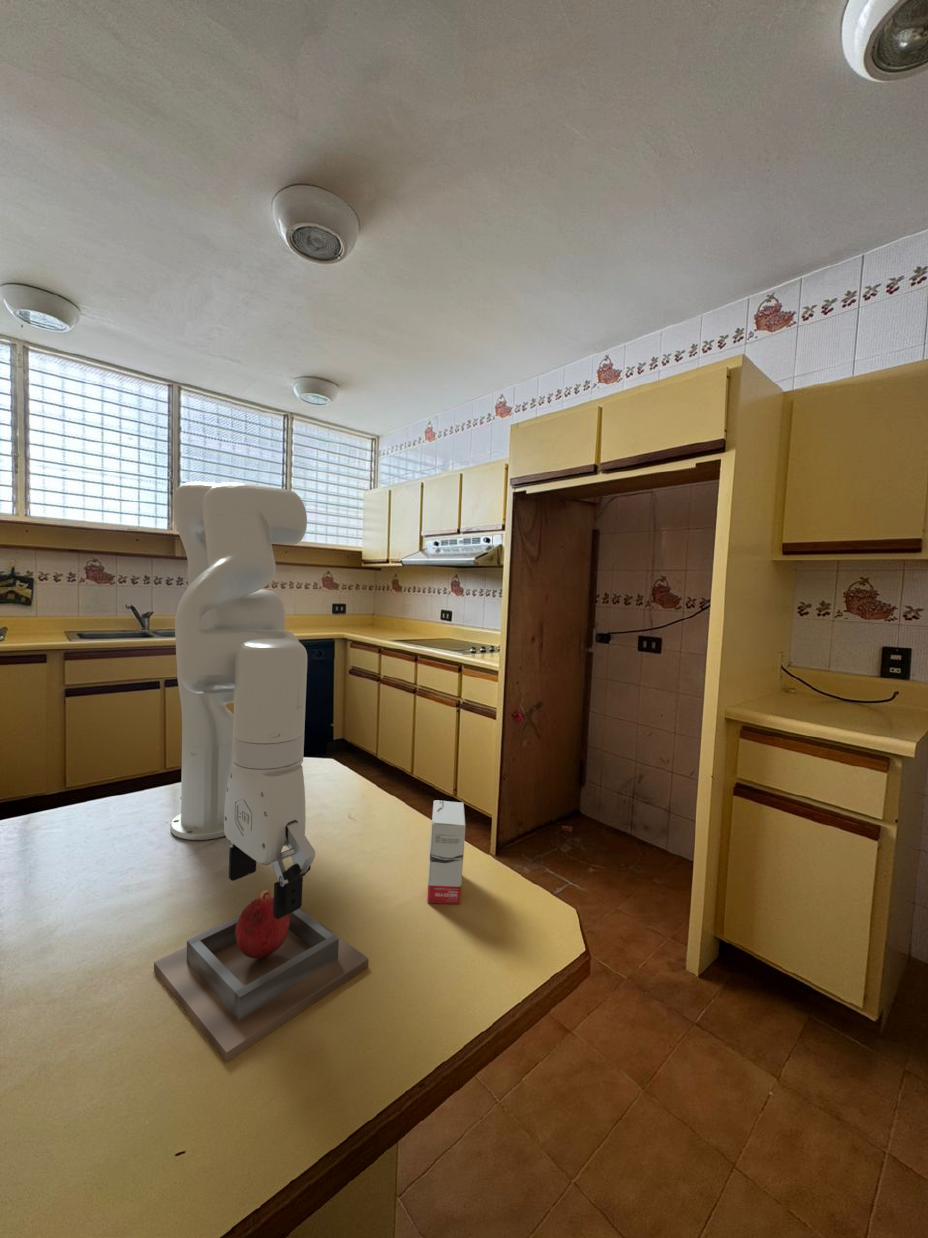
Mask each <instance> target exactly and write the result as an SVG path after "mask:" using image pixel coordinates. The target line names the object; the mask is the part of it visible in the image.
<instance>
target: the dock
mask: <svg viewBox="0 0 928 1238" xmlns="http://www.w3.org/2000/svg"><path fill="white" fill-rule="evenodd" d="M239 917H240V915H239V916H238V915H237V916H236V917H234V918H232V919H230V920H228V921H225V922H224V923H221V924H219V925H217V926H214V927H213V928H211V929H209V930H207V931H206V930H205V932H202V933H200V934H198V935H196V936H194V937H191V938H190V939H187V940H186V946H185V947H183V948H181V949H178V950H176V951H174V952H172V953H170V954H168V955H165V956H163V957H161V958H160V959H158V960H155V961H153V972H154V973H156V976H158V978H159V979H160V980H161V982H162V983H163V984H164V985H165V986H166V988H167V989H168V990H169V992H170V993H171V994H172V996H173V997H174V998H175V1000H177V1002H178V1003H179V1004H180V1006H181V1007H182V1008H183V1009H184V1011H185V1012H186V1013H187V1015H188V1016H189V1017H190V1018H191V1019H192V1021H193V1022H194V1023H195V1025H196V1026H197V1027H198V1029H200V1031H201V1032H202V1033H203V1035H204V1036H205V1037H206V1039H207V1040H208V1042H210V1044H211V1045H212V1046H213V1048H214V1049H215V1050H216V1051H217V1052H218V1054H219V1055H220V1057H221V1058H222V1059H223V1060H224V1062H225V1063H228V1062H230V1061H231V1060H232V1059H234V1058H235V1057H237V1056H238V1055H240V1054H242V1053H243V1052H244V1051H246V1050H247V1049H248V1048H250V1047H252V1046H253V1045H255V1044H257V1043H258V1042H259V1041H261V1040H263V1039H265V1037H266V1036H268V1035H270V1034H271V1033H273V1032H274V1031H276V1030H277V1029H278V1028H280V1027H281V1026H284V1024H286V1023H288V1022H289V1021H290V1020H292V1019H293V1018H295V1017H296V1016H298V1015H299V1014H301V1013H302V1012H304V1011H305V1010H306V1009H308V1008H310V1007H311V1006H312V1005H314V1004H316V1003H317V1002H318V1001H320V1000H321V999H322V998H324V997H326V996H327V995H329V994H331V993H332V992H334V990H336V989H338V988H339V987H341V986H342V985H343V984H345V983H347V982H348V981H350V980H351V979H352V978H354V977H355V976H357V975H358V974H359V973H361V972H363V971H364V970H366V969H367V968H368V967H369V958H368V957H367V956H366V955H364V954H363V953H362V952H360V951H359V950H358V949H356V948H355V947H354V946H352V945H351V944H350V943H348V942H347V940H346V941H345V940H344V938H342V937H340V936H339V935H338V934H336V933H335V932H333V930H331V929H330V928H328V926H325V925H324V924H323V923H322V922H321V921H319V920H318V919H316V918H315V917H314V916H312V915H311V914H309V912H307V911H306V910H304V909H303V908H301V907H300V908H299V909H297V910H296V911H294V912H292V913H290V914H289V919H290V924H289V929H288V934H287V937H286V939H285V941H284V942H283V944H282V945H281V946H280V947H279V948H278V949H277V950H276V951H275V952H274V953H272V954H271V955H269V956H268V957H266V958H265V959H254V958H250V957H248V956H246V955H244V954H243V953H242V952H241V951H240V949H239V947H238V946H237V941H236V934H235V930H236V925H237V922H238V920H239Z"/></svg>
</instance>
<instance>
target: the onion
mask: <svg viewBox="0 0 928 1238" xmlns="http://www.w3.org/2000/svg"><path fill="white" fill-rule="evenodd" d="M271 895H272V892H271V891H270V889H269V890H268V889H265V890H262V891H261V892H260V894H259V895H258V897H257V898H256V899H255V900H252V901H251V902H250V903H249V904H248V905H246V907H244V908H243V910H242V912H241V913H240V915H239V916H240V917H239V920H238V922H237V925H236V930H235V934H236V941H237V946H238V947H239V949H240V951H241V952H242V953H243V954H244V955H246V956H248V957H250V958H254V959H265V958H266V957H268V956H269V955H271V954H272V953H274V952H275V951H276V950H277V949H278V948H279V947H280V946H281V945H282V944H283V942H284V941H285V939H286V937H287V934H288V929H289V924H290V919H289V914H288V915H286V916H284V917H282V918H280V919H276V918H274V917H273V903H274V897H272V896H271Z"/></svg>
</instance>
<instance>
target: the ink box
mask: <svg viewBox="0 0 928 1238" xmlns="http://www.w3.org/2000/svg"><path fill="white" fill-rule="evenodd" d="M464 805H465V804H464V802H463V801H461V802H458V801H449V800H448V801H447V800H438V799H437V800H433V805H432V815H431V816H432V817H431V827H430V839H429V840H430V842H429V857H428V858H429V859H428V876H427V879H428V880H427V900H426V901H427V903H429V904H452V905H453V904H454V905H460V904H461V897H462V896H461V895H462V883H463V882H462V881H463V868H464V867H463V865H464V855H465V854H464V853H465V838H466V816H465V806H464Z"/></svg>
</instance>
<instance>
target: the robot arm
mask: <svg viewBox="0 0 928 1238" xmlns="http://www.w3.org/2000/svg"><path fill="white" fill-rule="evenodd" d="M172 502H173V504H172V506H173V516H174V522H175V525H176V529H177V532H178V535H179V537H180V540H181V542H182V546H183V548H184V551H185V554H186V555H185V556H186V558H187V569H188V571H187V573H188V575H187V577H188V578H187V588H186V589H185V591H184V592H183V595H182V596H181V598H180V601H179V603H178V605H177V610H176V613H175V621H174V632H175V633H174V636H175V654H176V655H175V656H176V658H175V659H176V667H177V669H176V670H177V673H176V675H177V685H178V692H179V699H180V704H181V705H180V706H181V724H182V725H181V729H182V730H181V780H180V781H181V785H180V786H181V791H180V813H179V814H177V815H176V816H175V817H173V819H172V820H170V821H171V822H170V831H171V833H172V834H173V835H174V836H175V837H177V838H180V839H183V840H190V841H202V840H203V841H204V840H205V841H207V840H212V839H218V838H219V839H220V838H223V837H226V838H227V844H228V846H229V853H228V854H229V856H228V857H229V858H228V859H229V860H228V879H229V880H230V881H231V882H233V881H237V880H240V879H241V878H244V877H247V876H249V875H251V874H254V873H256V871H257V863H259V864H260V865H261V866H262V865H263V866H268V865H271V864H272V866H273V868H274V873H275V875H276V878H277V881H276V882H275V883H273V898H274V903H273V917H274V918H276V919H280V918H282V917H284V916H286V915H288V914H290V913H292V912H294V911H296V910H297V909H299V908H301V907H302V905H303V882H304V880H303V879H304V877H306V876H307V874H308V873H309V871H311V867H312V866H311V865H312V864H313V862H314V859H315V857H316V851H315V849H314V847H313V846H312V844H311V843H310V841H309V839H308V838H307V836H306V819H307V818H306V813H307V812H306V791H305V790H306V789H305V787H306V786H305V777H304V771H303V770H304V768H303V765H302V764H303V762H304V751H305V750H304V748H305V727H306V726H305V722H306V703H307V702H306V700H307V680H308V679H307V678H308V677H307V674H308V653H307V650H306V649H307V648H305V646H304V645H303V644H302V643H301V642H300V640H299V639H298V637H297V636H296V635H295V634H294V633H292V632H290V631H288V630H286V610H285V606H284V602H283V600H282V598H281V596H280V595H279V594H278V593H277V592H276V591H273V590H269V589H264V588H266V587H267V586H268V585H269V584H270V583H271V582H272V581H273V579H274V578H275V575H276V572H277V567H276V566H277V564H276V560H275V557H274V551H273V550H274V549H273V545H272V544H275V545H276V544H279V545H291V546H293V545H294V546H295V545H297V544H300V542H301V541H302V540H303V539H304V537H305V535H306V532H307V527H308V525H307V524H308V516H307V510H306V507H305V504H304V502H303V500H302V498H301V497H300V496H299V494H297V492H294V491H292V490H290V489H286V488H279V487H274V486H273V487H272V486H266V485H265V486H264V485H257V484H250V483H244V482H234V481H233V482H232V481H231V482H221V483H217V482H207V481H194V482H193V481H192V482H185V483H183V484H180V485H179V486H178V487H176V490H175V491H174V494H173V501H172ZM231 703H232V704H233V711H231V710H230V709H229V708H228V707H227V705H228V704H231ZM284 847H286V848H288V849H287V850H284V851H282V850H283V848H284ZM289 857H291V861H292V865H291V866H290V867H289V868H287V869H286V867H285V865H284V861H283V860H284V859H286V858H289Z"/></svg>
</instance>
